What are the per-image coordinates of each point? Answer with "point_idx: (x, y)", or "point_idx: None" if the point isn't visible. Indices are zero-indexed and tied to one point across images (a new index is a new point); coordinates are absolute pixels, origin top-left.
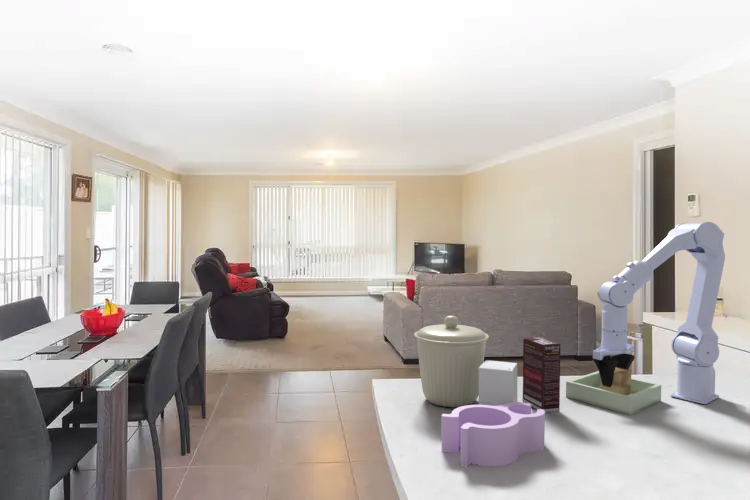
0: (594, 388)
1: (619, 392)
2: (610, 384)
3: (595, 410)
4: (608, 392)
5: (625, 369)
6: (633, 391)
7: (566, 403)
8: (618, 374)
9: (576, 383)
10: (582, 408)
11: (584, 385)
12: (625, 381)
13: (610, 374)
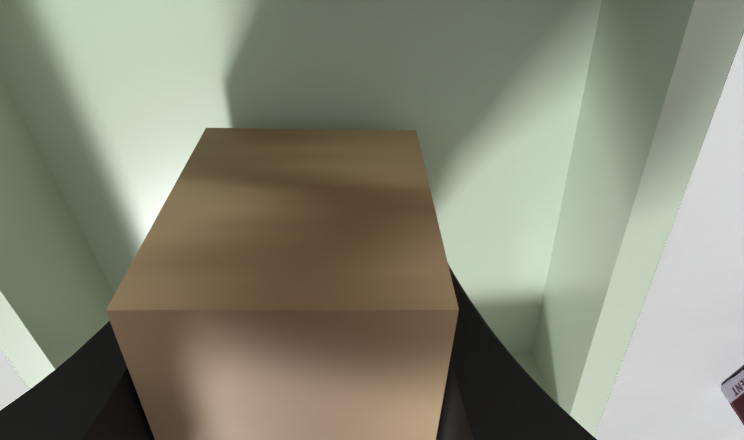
0: (642, 291)
1: (415, 157)
2: (450, 270)
3: (715, 126)
4: (690, 164)
5: (147, 374)
6: (43, 181)
7: (675, 298)
8: (450, 314)
9: (589, 408)
10: (723, 200)
11: (606, 364)
12: (294, 218)
13: (512, 360)
